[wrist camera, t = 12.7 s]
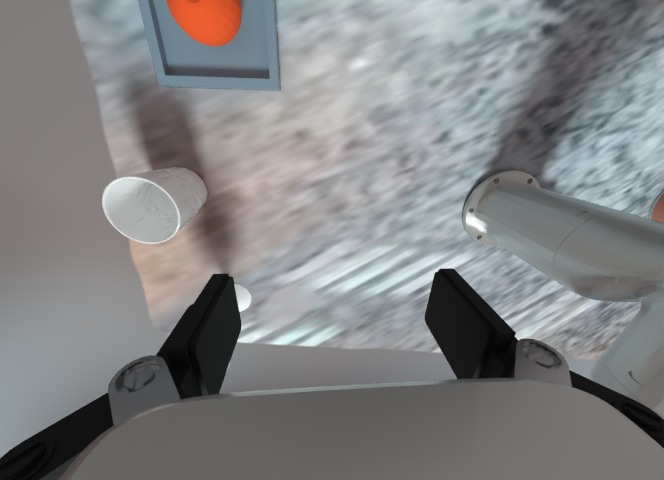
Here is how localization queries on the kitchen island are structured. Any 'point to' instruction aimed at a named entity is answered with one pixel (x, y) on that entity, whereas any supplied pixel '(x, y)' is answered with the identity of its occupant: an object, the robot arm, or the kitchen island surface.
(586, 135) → the kitchen island surface
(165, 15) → the dish
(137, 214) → the white cup
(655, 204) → the canned food
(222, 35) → the clementine
